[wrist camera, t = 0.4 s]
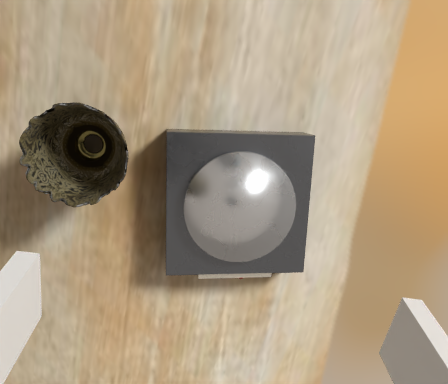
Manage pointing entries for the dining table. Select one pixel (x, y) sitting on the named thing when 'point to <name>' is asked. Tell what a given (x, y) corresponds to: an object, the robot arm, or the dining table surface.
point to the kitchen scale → (237, 202)
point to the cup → (73, 154)
